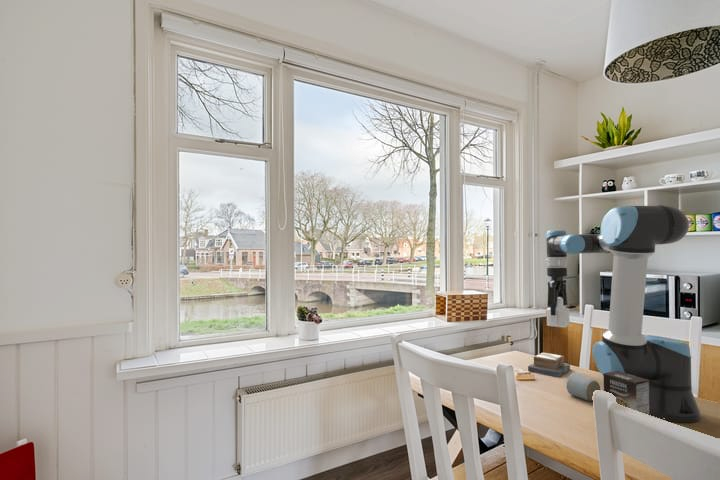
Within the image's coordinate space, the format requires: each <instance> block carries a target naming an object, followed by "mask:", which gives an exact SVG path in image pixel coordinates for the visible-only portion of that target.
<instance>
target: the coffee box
mask: <svg viewBox="0 0 720 480" xmlns="http://www.w3.org/2000/svg"><path fill="white" fill-rule="evenodd" d="M603 375H604V376H603ZM603 375H602V376H603V392H604V391H606V392H609V393H612V394H613V395H614V396H615V397H616V402H617V403H618V404H620V405H623V406H625V407H628V408H631V409H633V410H637V411H639V412H642V413H645V414H648V415H649V380H648V379H644V378H640V377H637V376H633V375H630V374H626V373H623V372H619V371H614V372H607V373H604V374H603ZM649 416H650V415H649Z"/></svg>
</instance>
